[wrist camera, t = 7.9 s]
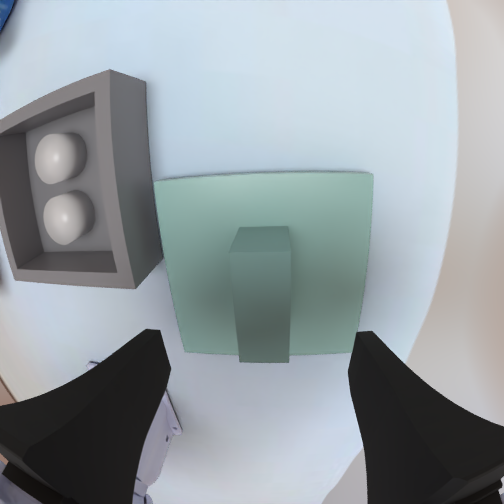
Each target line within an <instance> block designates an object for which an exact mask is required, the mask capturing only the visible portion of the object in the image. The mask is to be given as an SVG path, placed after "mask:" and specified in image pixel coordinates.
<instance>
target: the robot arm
mask: <svg viewBox="0 0 504 504" xmlns="http://www.w3.org/2000/svg"><path fill="white" fill-rule="evenodd" d="M87 368H88V370H89V371H87V372H86V373H84V374H83V375H81V376H79V377H78V378H76V379H74V380H72V381H70V382H68V383H67V384H65V385H63V386H61V387H58V388H56V389H54V390H51V391H49V392H47V393H45V394H42V395H40V396H37V397H34V398H31V399H28V400H24V401H21V402H17V403H12V404H7V405H2V406H0V453H1V454H2V455H3V456H4V457H5V458H6V459H7V460H8V461H9V462H8V463H7V465H5V464H4V463H3V462H2V461H0V504H153V501H152V499H151V497H150V496H149V495H148V494H146V491H147V488H148V487H149V486H150V485H152V484H153V483H154V482H155V481H156V480H157V479H158V477H159V475H160V472H161V469H162V466H163V463H164V460H165V457H166V454H167V451H168V448H169V445H170V442H171V439H172V436H173V434H174V435H181V434H182V429H181V427H180V425H179V422H178V420H177V418H176V415H175V413H174V410H173V408H172V405H171V403H170V400H169V398H168V395H167V393H166V387H167V383H168V380H169V376H170V371H171V366H170V363H169V360H168V356H167V353H166V349H165V346H164V342H163V339H162V335H161V331H160V330H152V329H145V330H144V331H142V332H141V333H139V334H138V335H137V336H135V337H134V338H133V339H131V340H130V341H129V342H128V343H126V344H125V345H124V346H122V347H121V348H120V349H118V350H117V351H116V352H114V353H113V354H112V355H110V356H109V357H108V358H106V359H105V360H103V361H102V362H101V363H99V364H95V363H88V364H87ZM348 377H349V385H350V392H351V397H352V401H353V405H354V409H355V413H356V417H357V421H358V425H359V429H360V433H361V437H362V441H363V446H364V452H365V461H366V471H367V472H366V473H367V490H368V491H367V495H368V504H504V493H503V494H501V495H500V494H499V491H498V490H499V489H500V488H502V482H501V478H502V477H503V476H504V427H503V426H501V425H498V424H495V423H492V422H490V421H488V420H485V419H483V418H481V417H479V416H477V415H474V414H473V413H471V412H469V411H467V410H465V409H464V408H462V407H460V406H458V405H457V404H455V403H453V402H452V401H450V400H449V399H447V398H446V397H444V396H443V395H442V394H440V393H439V392H437V391H436V390H435V389H433V388H432V387H431V386H429V385H428V384H427V383H426V382H424V381H423V380H422V379H421V378H420V377H419V376H417V375H416V374H415V373H414V372H413V371H412V370H411V369H410V368H408V367H407V366H406V365H405V364H404V363H403V362H402V361H401V360H400V359H399V358H398V357H397V356H396V355H395V354H394V353H393V352H392V351H391V350H390V349H389V348H388V347H387V346H386V345H385V344H384V343H383V342H382V340H381V339H380V338H379V337H378V336H377V335H376V334H375V333H374V332H373V331H363V332H356V336H355V341H354V346H353V351H352V355H351V360H350V364H349V369H348Z"/></svg>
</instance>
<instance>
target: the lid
mask: <svg viewBox="0 0 504 504" xmlns="http://www.w3.org/2000/svg"><path fill="white" fill-rule="evenodd" d="M154 191H155V199H156V206H157V214H158V221H159V227H160V234H161V240H162V246H163V252H164V258H165V263H166V269H167V274H168V279H169V285H170V290H171V294H172V299H173V304H174V309H175V313H176V318H177V322H178V326H179V331H180V335H181V339H182V343H183V347H184V351H185V352H190V353H205V354H224V355H239V361H240V362H250V363H289V355H317V354H336V353H351V352H352V351H353V346H354V341H355V336H356V332H357V331H358V325H359V319H360V314H361V307H362V301H363V294H364V287H365V280H366V272H367V263H368V254H369V244H370V232H371V218H372V201H373V174H371V173H366V172H322V171H304V172H259V173H238V174H221V175H207V176H194V177H183V178H173V179H163V180H158V181H155V182H154Z"/></svg>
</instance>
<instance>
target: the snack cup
mask: <svg viewBox="0 0 504 504" xmlns="http://www.w3.org/2000/svg"><path fill="white" fill-rule="evenodd" d="M13 3H14V0H0V31H1V29H2V27H3V25H4V23H5V21H6V19H7V17H8V15H9V13H10V11H11V9H12V6H13Z"/></svg>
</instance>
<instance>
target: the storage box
mask: <svg viewBox="0 0 504 504" xmlns="http://www.w3.org/2000/svg"><path fill="white" fill-rule="evenodd" d="M0 230H1V234H2V238H3V242H4V246H5V250H6V253H7V257H8V260H9V264H10V267H11V270H12V273H13V276H14V279H15V280H16V281H26V282H37V283H48V284H61V285H74V286H89V287H105V288H123V289H136V288H137V287H138V286H139V285H140V284H141V283H142V281H143V280H144V279H145V278H146V277H147V276H148V274H149V273H150V272H151V271H152V270H153V269H154V268H155V267H156V265H157V264H158V263H159V262H160V261H161V260H162V259H163V258H162V252H161V246H160V239H159V233H158V226H157V219H156V211H155V204H154V196H153V187H152V178H151V168H150V157H149V144H148V130H147V111H146V82H145V81H142V80H140V79H137V78H134V77H131V76H128V75H126V74H123V73H120V72H117V71H114V70H111V69H109V70H106V71H103V72H101V73H98V74H95V75H92V76H89V77H87V78H84V79H82V80H79V81H77V82H74V83H72V84H69V85H67V86H65V87H62V88H60V89H58V90H56V91H53V92H51V93H49V94H47V95H45V96H43V97H41V98H39V99H37V100H35V101H33V102H31V103H29V104H27V105H25V106H24V107H22V108H20V109H18V110H16V111H15V112H13V113H11V114H9V115H8V116H6V117H4V118H3V119H1V120H0Z"/></svg>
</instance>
